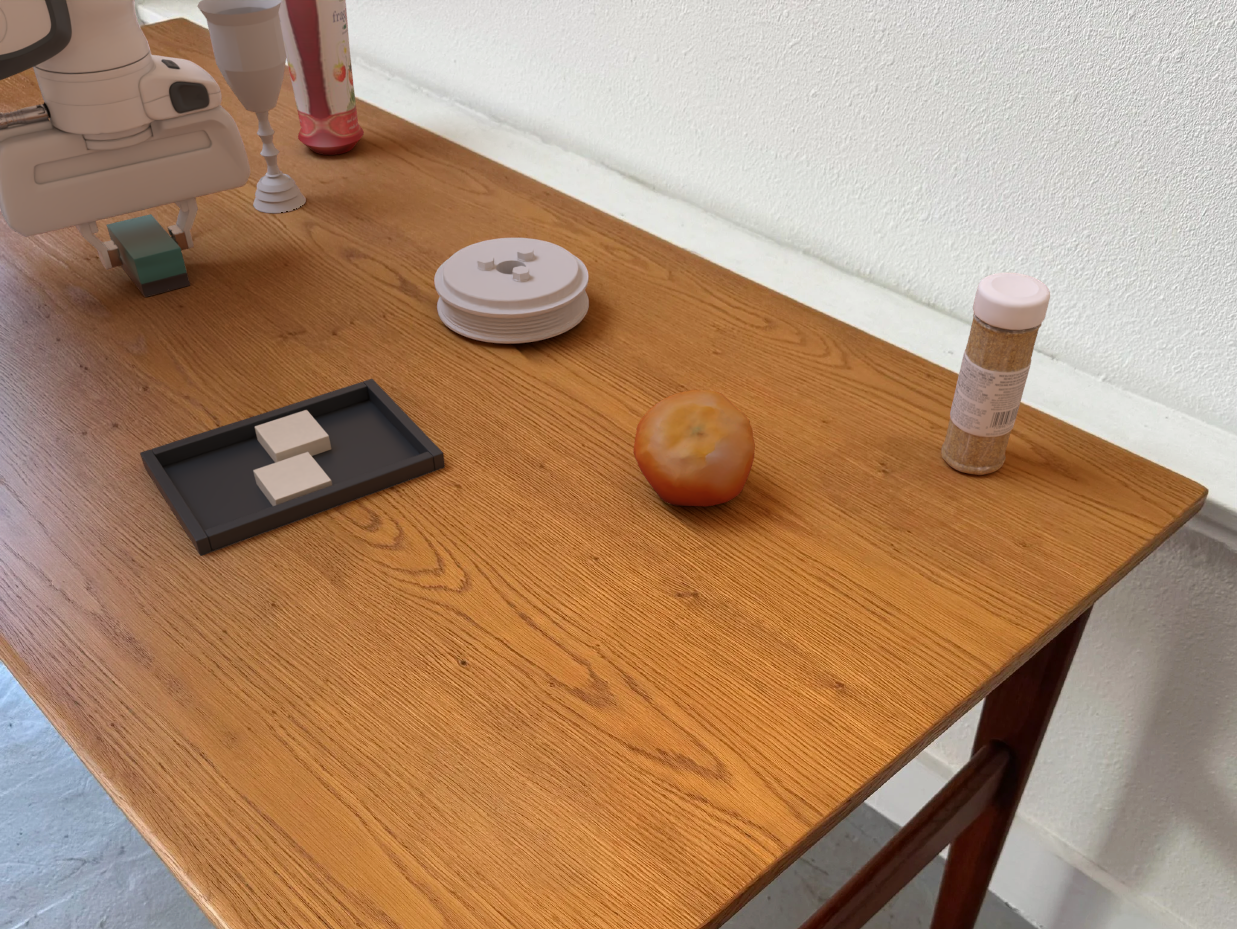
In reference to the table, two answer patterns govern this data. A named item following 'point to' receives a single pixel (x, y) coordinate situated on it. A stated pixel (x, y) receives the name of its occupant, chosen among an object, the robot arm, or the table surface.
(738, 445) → the fruit
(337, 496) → the tray
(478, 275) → the lid
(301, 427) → the chip
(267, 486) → the chip
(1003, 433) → the sprinkles bottle
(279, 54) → the chalice
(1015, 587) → the table surface
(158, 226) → the eraser
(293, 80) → the red and white bottle
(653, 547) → the table surface
